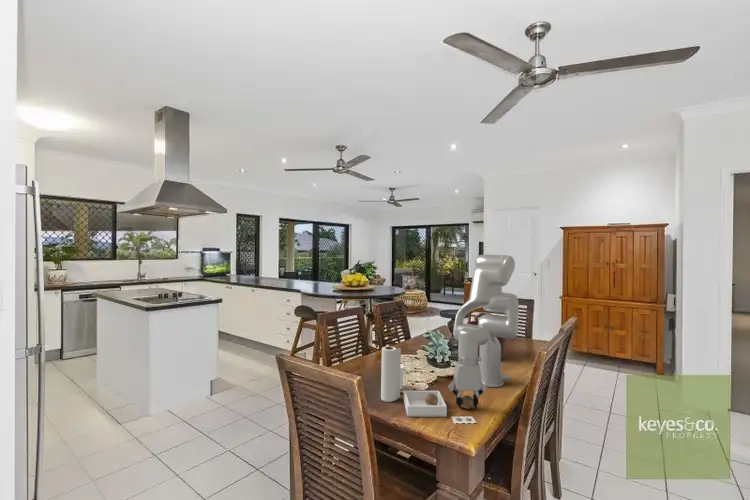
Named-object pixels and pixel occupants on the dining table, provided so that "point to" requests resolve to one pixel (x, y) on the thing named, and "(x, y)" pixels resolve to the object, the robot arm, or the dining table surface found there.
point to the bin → (423, 404)
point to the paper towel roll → (390, 373)
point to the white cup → (401, 375)
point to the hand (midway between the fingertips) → (467, 405)
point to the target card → (463, 420)
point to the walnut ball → (467, 402)
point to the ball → (431, 399)
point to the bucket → (500, 339)
